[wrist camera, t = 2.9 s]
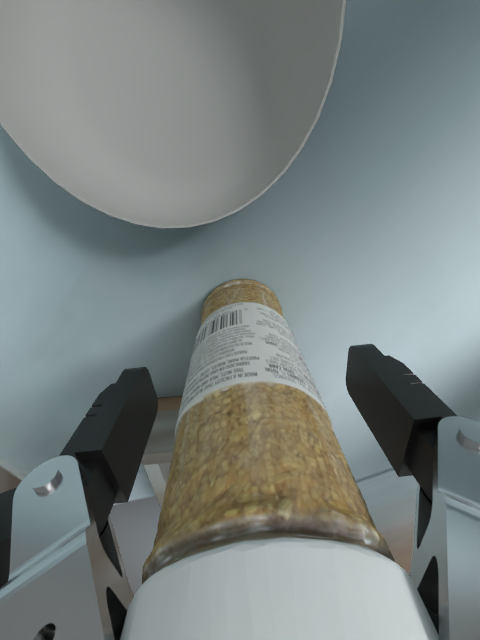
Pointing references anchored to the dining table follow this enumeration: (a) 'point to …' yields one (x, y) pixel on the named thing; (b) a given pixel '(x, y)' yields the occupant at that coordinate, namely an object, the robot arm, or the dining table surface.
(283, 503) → the sprinkles bottle
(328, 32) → the small pan
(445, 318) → the dining table surface
